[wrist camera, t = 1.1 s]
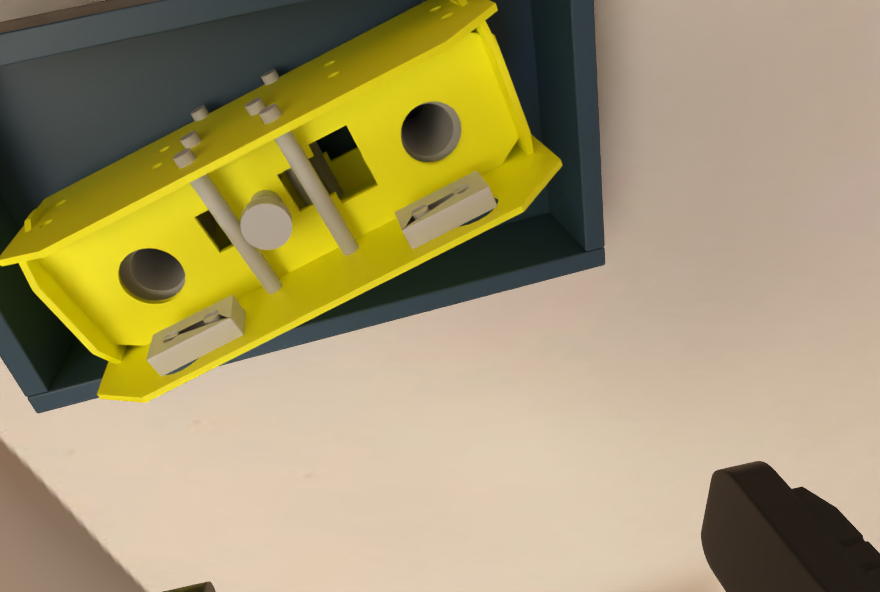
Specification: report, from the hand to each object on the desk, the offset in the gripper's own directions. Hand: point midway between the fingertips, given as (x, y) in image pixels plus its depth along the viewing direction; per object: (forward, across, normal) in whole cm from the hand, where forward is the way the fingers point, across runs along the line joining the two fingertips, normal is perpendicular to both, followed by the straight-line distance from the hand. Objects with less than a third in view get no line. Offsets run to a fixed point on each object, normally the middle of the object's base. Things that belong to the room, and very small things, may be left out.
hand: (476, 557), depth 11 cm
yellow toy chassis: (+19, +2, -1) cm, 19 cm away
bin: (+19, +2, -1) cm, 19 cm away
